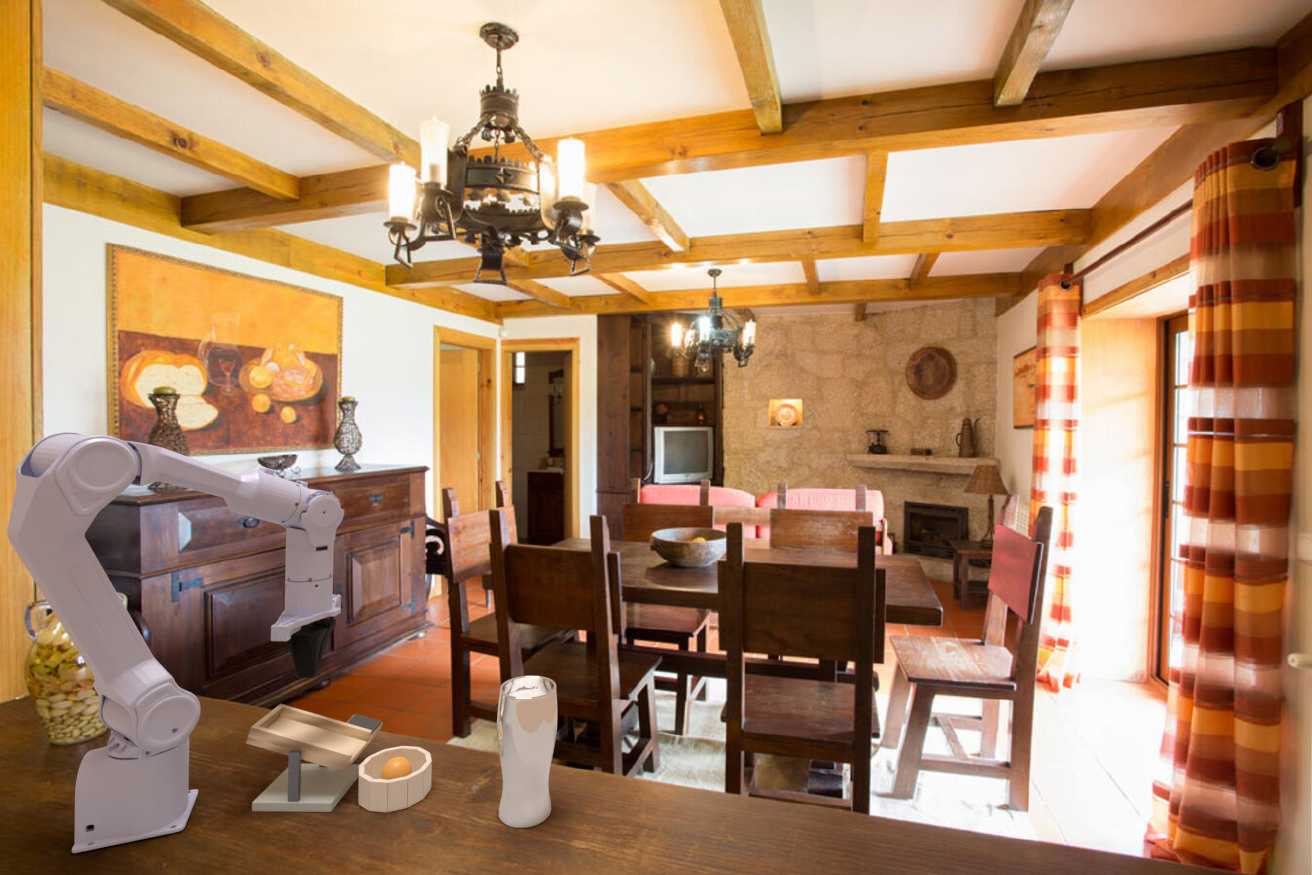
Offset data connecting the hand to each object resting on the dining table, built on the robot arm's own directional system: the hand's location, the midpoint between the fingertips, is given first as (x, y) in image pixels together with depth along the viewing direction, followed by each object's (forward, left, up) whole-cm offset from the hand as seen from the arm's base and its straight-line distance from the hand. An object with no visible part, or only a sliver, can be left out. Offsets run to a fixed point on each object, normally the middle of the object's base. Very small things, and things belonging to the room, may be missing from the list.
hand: (307, 675), depth 86 cm
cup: (+10, -15, -10) cm, 21 cm away
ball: (+11, -15, -8) cm, 20 cm away
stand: (+1, -11, -10) cm, 15 cm away
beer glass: (+24, -25, -11) cm, 36 cm away
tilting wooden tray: (+2, -8, -5) cm, 10 cm away
